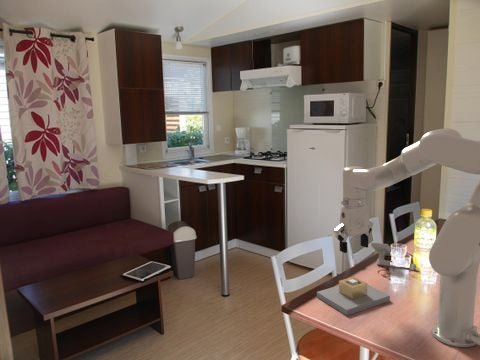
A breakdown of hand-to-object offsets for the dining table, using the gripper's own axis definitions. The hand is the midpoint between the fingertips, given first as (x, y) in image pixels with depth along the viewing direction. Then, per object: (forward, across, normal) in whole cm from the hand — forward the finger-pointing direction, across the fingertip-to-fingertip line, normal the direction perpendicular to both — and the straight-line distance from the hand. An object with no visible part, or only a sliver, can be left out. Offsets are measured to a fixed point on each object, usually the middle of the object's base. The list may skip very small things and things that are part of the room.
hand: (354, 249), depth 147 cm
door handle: (+20, +39, +17) cm, 46 cm away
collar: (+17, 0, +1) cm, 17 cm away
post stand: (+19, 0, +1) cm, 19 cm away
